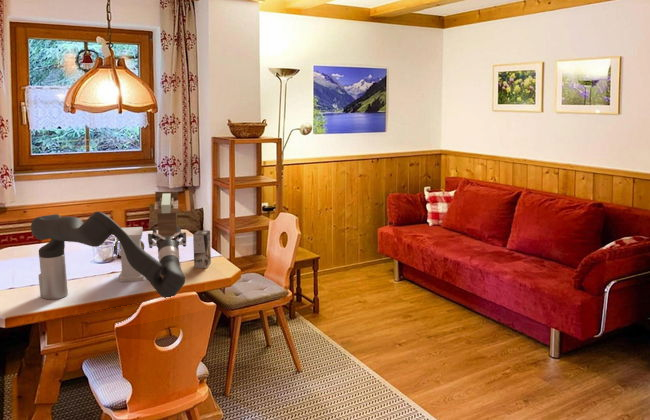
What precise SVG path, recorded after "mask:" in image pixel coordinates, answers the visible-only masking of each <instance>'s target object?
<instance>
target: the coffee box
mask: <svg viewBox="0 0 650 420" xmlns="http://www.w3.org/2000/svg"><path fill="white" fill-rule="evenodd" d="M192 245H193V267H194V268H195V269H199V268H200V269H207V268H208V267H209V266H210V265H211V263H212V254H211V253H212V252H211V250H212V249H211V230H196V232H195V233H193V244H192Z"/></svg>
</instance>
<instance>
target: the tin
mask: <svg viewBox="0 0 650 420" xmlns="http://www.w3.org/2000/svg"><path fill="white" fill-rule="evenodd" d="M118 241H119V240H116V241H115V242H114V243H115V246H114V252H113V253H114V255H115V256H117V242H118ZM141 248H142V249H143V250H144V251H145V243H144V242H143V241H142V240H141Z"/></svg>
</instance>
